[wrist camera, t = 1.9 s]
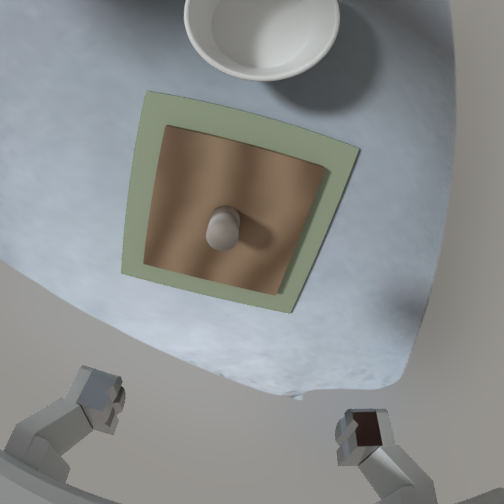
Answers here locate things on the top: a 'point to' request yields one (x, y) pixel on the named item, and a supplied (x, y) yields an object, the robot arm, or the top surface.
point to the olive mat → (248, 131)
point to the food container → (262, 35)
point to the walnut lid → (227, 209)
